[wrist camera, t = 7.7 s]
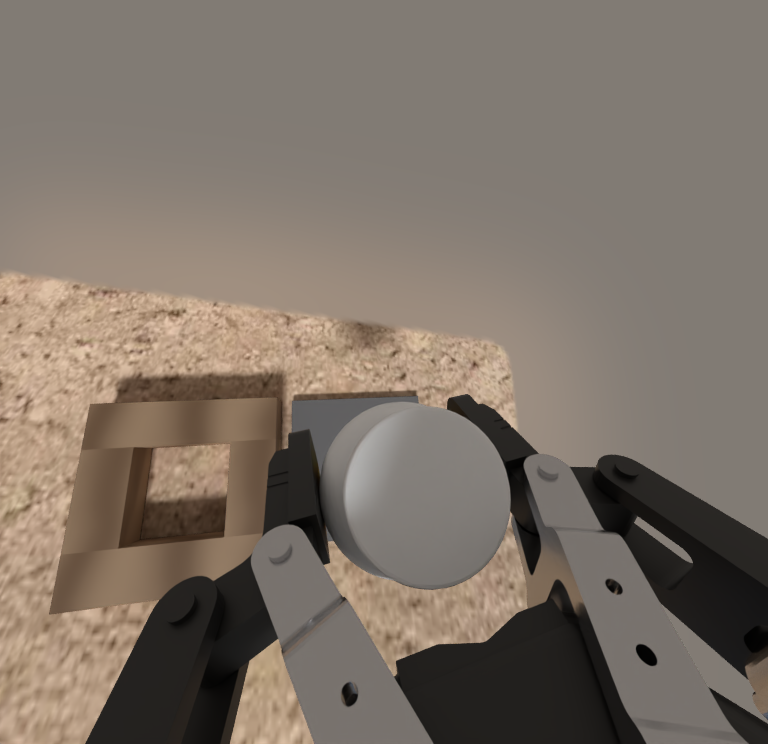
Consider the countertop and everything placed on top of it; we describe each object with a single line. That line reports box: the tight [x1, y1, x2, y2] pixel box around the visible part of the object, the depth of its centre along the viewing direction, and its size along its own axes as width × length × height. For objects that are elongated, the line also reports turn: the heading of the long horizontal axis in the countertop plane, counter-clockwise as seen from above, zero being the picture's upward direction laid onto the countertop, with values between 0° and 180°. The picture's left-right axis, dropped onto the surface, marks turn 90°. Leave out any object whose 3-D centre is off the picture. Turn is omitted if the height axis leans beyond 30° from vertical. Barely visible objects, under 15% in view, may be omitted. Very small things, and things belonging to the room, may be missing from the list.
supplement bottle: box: [319, 402, 511, 590], centre depth 11 cm, size 5×5×10 cm
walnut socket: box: [49, 397, 282, 614], centre depth 24 cm, size 14×14×2 cm
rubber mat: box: [292, 396, 419, 541], centre depth 27 cm, size 12×12×1 cm
